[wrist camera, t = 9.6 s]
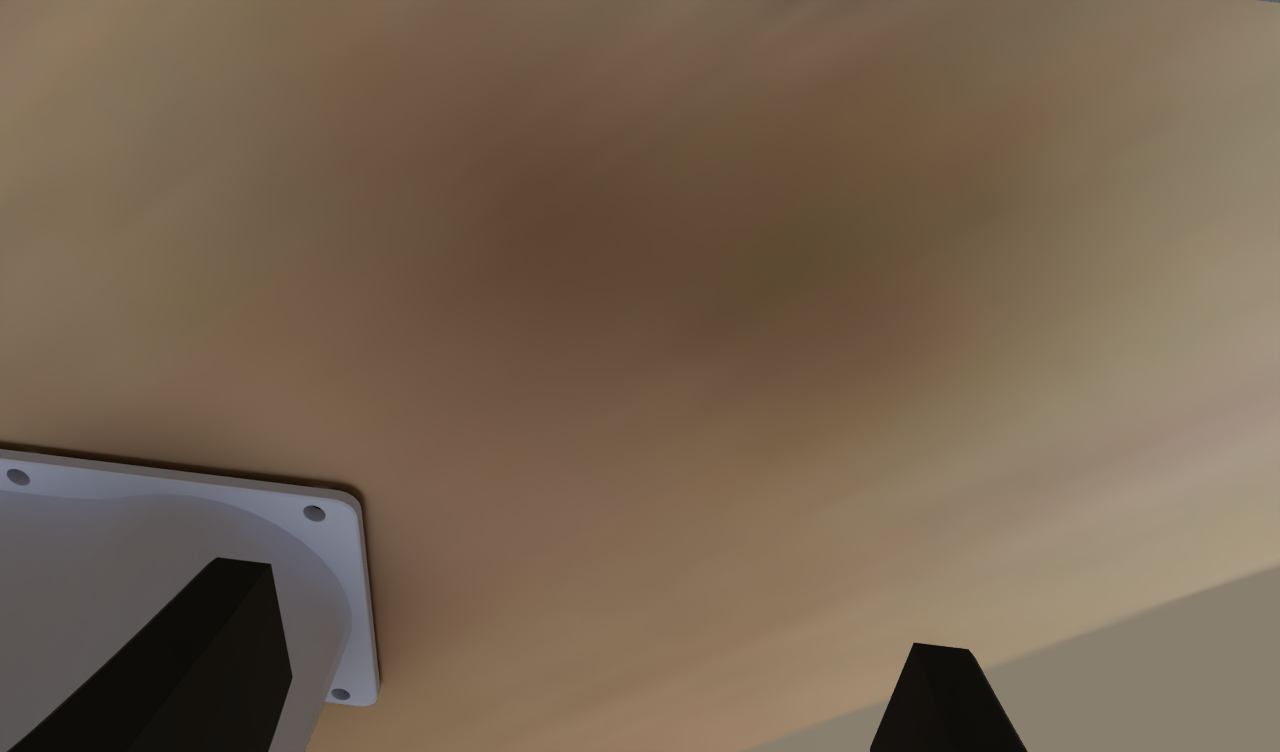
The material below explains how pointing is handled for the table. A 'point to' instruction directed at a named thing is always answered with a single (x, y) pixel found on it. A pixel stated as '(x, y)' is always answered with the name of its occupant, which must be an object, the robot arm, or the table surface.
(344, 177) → the table surface
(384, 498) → the table surface
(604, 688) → the table surface
